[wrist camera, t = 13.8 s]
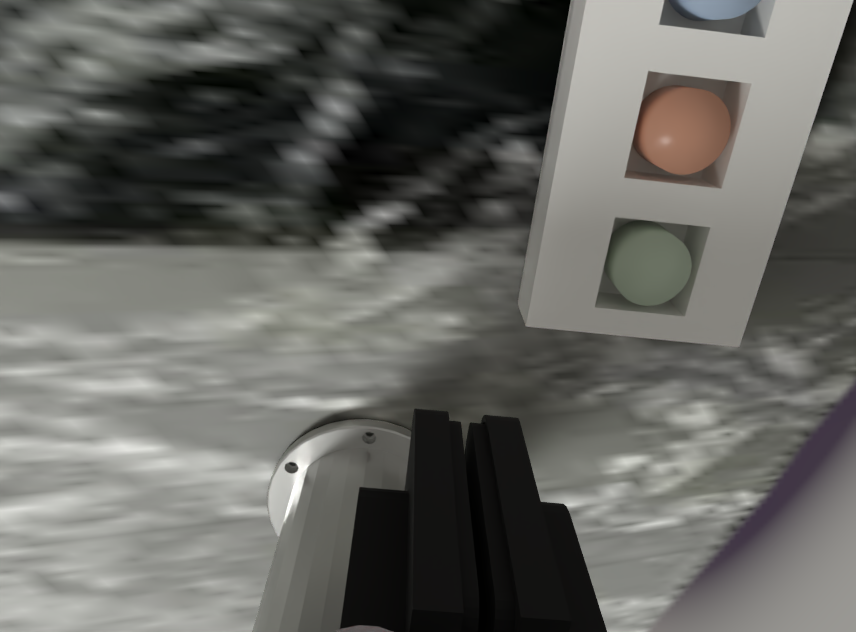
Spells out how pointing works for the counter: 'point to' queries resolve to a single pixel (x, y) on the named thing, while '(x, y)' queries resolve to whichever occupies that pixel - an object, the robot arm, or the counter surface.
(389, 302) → the counter surface
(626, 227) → the button sage
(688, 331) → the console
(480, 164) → the counter surface
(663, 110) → the button terracotta
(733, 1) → the button slate
